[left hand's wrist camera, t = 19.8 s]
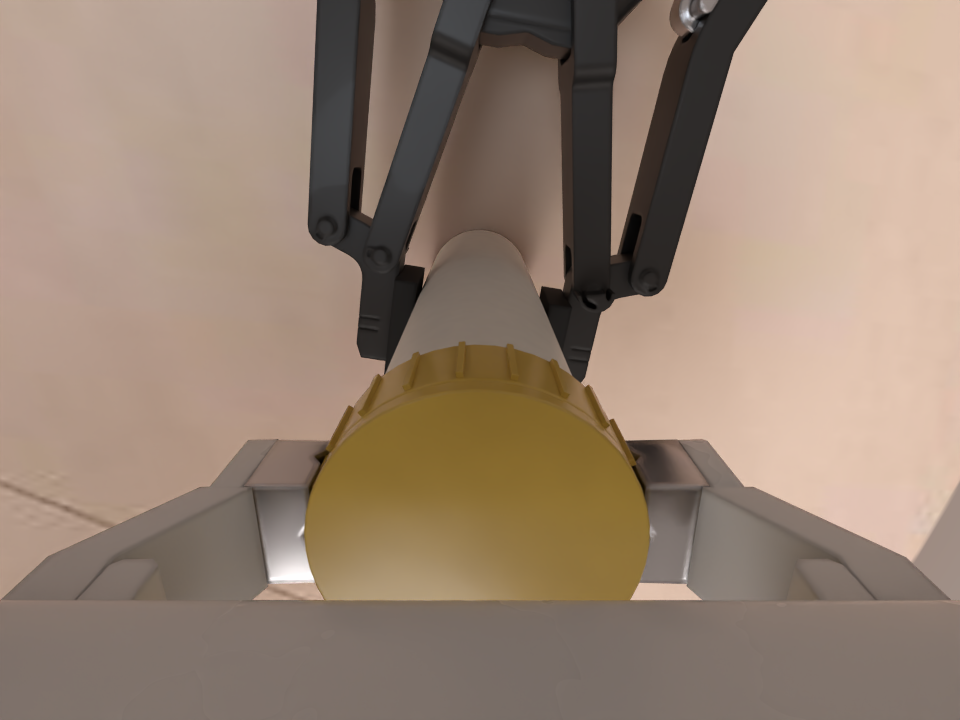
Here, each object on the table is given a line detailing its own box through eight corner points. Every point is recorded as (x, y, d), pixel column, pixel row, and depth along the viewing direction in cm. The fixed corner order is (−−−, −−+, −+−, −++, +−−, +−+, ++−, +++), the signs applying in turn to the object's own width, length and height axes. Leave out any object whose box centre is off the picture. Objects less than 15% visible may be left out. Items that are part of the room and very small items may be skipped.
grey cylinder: (537, 308, 27) (641, 588, 9) (448, 334, 27) (392, 646, 10) (512, 217, 25) (581, 350, 8) (419, 245, 26) (293, 430, 8)
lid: (411, 281, 9) (394, 315, 7) (682, 425, 10) (729, 488, 8) (287, 524, 10) (245, 603, 8) (529, 628, 11) (538, 720, 9)
